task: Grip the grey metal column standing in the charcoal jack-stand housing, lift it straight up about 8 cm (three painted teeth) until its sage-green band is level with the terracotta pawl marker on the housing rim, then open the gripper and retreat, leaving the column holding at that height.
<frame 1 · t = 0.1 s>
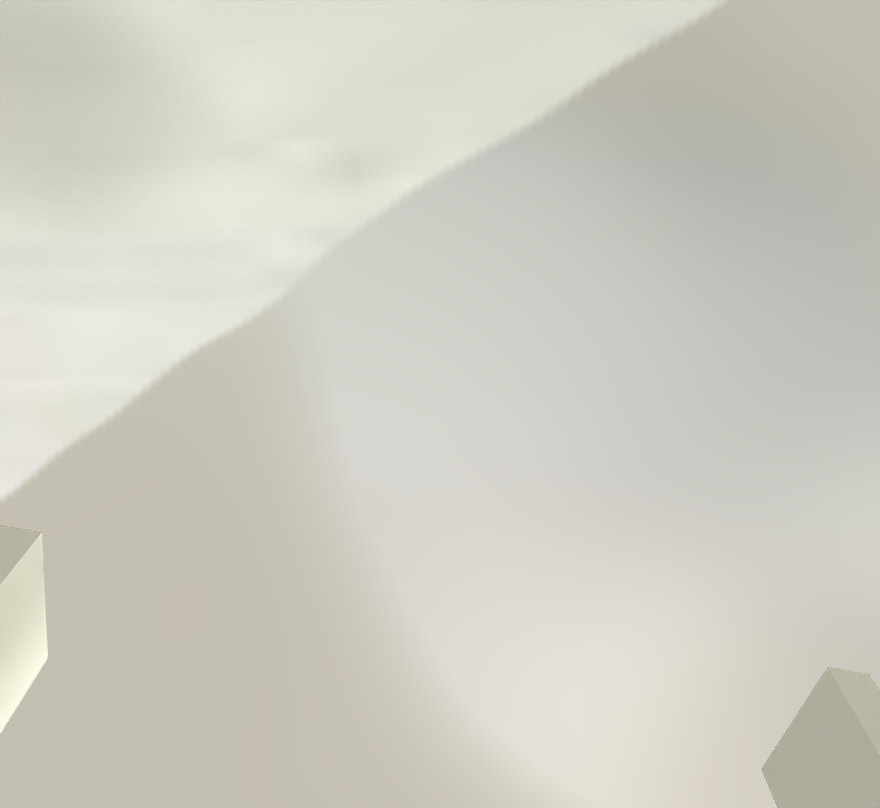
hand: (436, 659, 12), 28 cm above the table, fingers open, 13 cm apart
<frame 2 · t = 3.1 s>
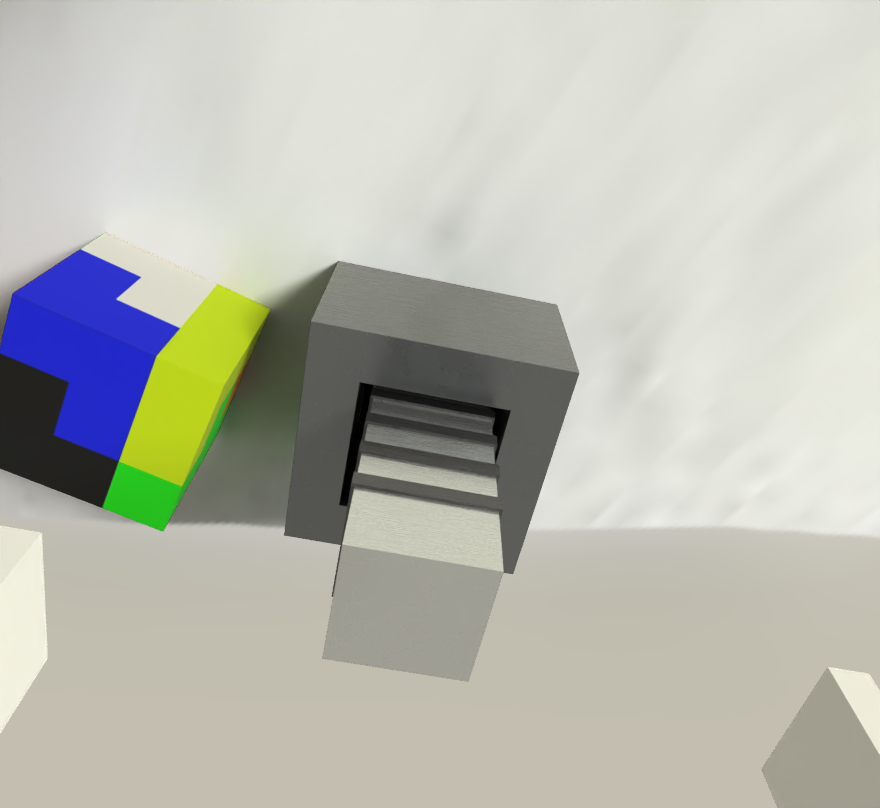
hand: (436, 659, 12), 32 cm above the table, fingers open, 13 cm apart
puzzle toy: (166, 339, 45), on the table
housing: (427, 380, 46), on the table
column: (420, 470, 37), point 10 cm above the table, slide at 0.0 cm
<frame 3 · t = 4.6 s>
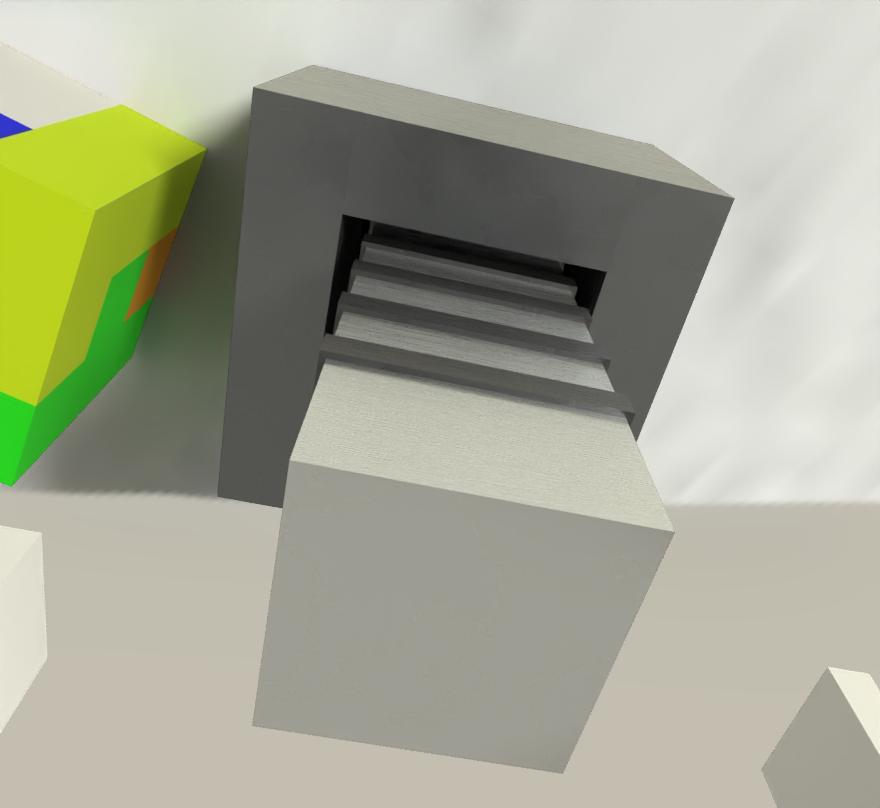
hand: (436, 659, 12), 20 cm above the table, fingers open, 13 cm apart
puzzle toy: (48, 201, 29), on the table
housing: (448, 271, 30), on the table
column: (447, 378, 21), point 10 cm above the table, slide at 0.0 cm
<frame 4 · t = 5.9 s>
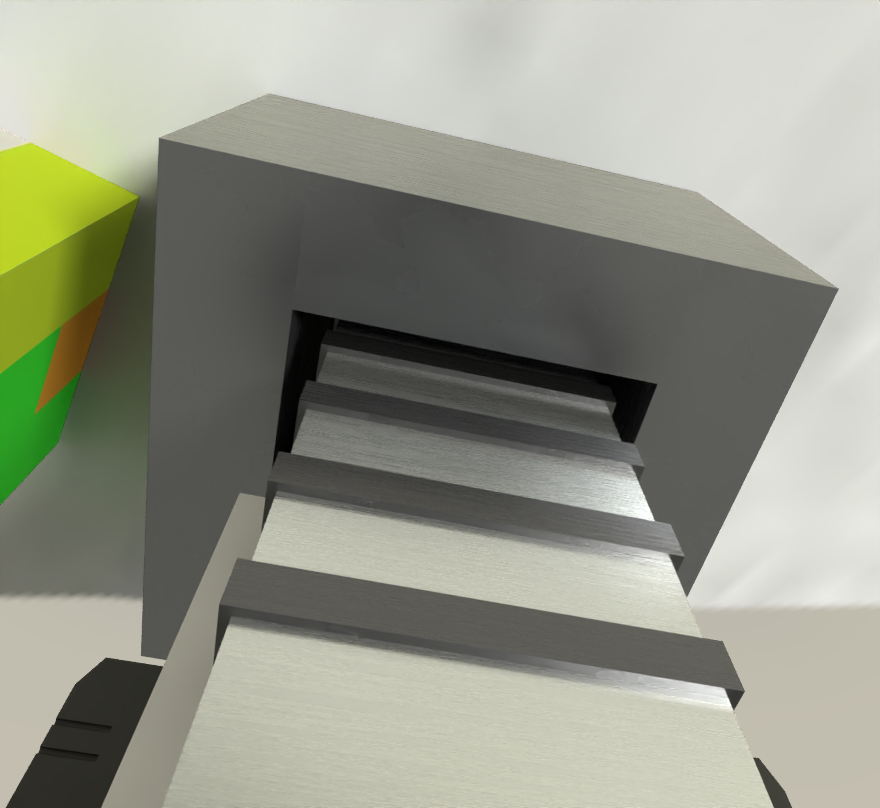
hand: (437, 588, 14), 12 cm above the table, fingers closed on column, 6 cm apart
housing: (442, 343, 24), on the table
column: (439, 525, 16), point 10 cm above the table, slide at 0.0 cm, touching gripper
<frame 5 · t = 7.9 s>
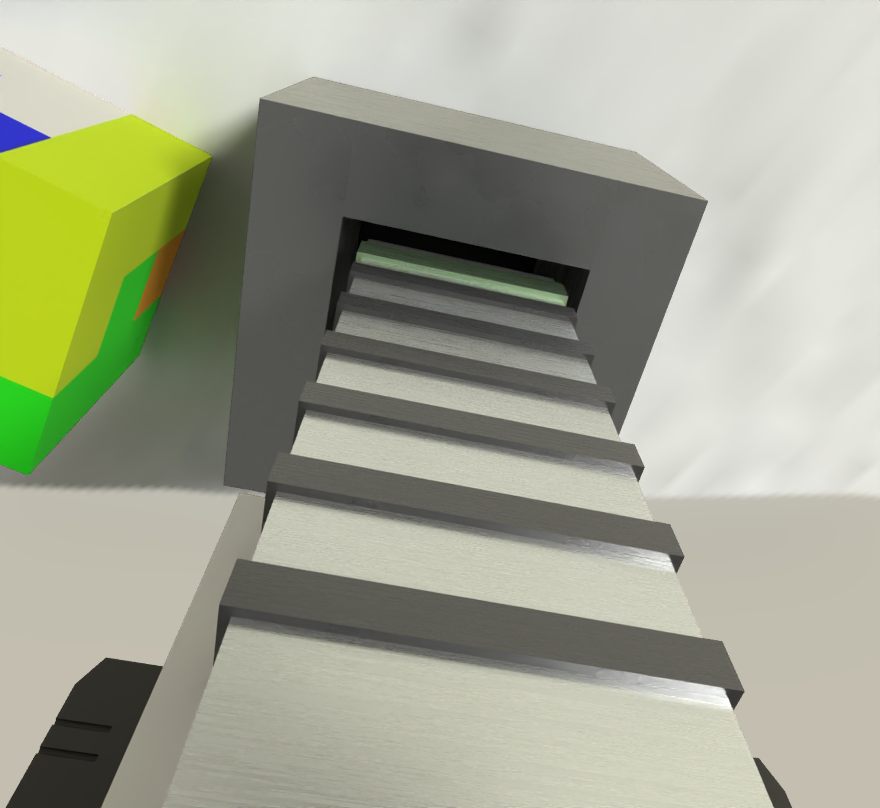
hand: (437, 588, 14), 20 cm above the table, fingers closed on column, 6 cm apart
puzzle toy: (60, 206, 31), on the table
housing: (442, 272, 31), on the table
column: (438, 526, 16), point 18 cm above the table, slide at 7.9 cm, touching gripper
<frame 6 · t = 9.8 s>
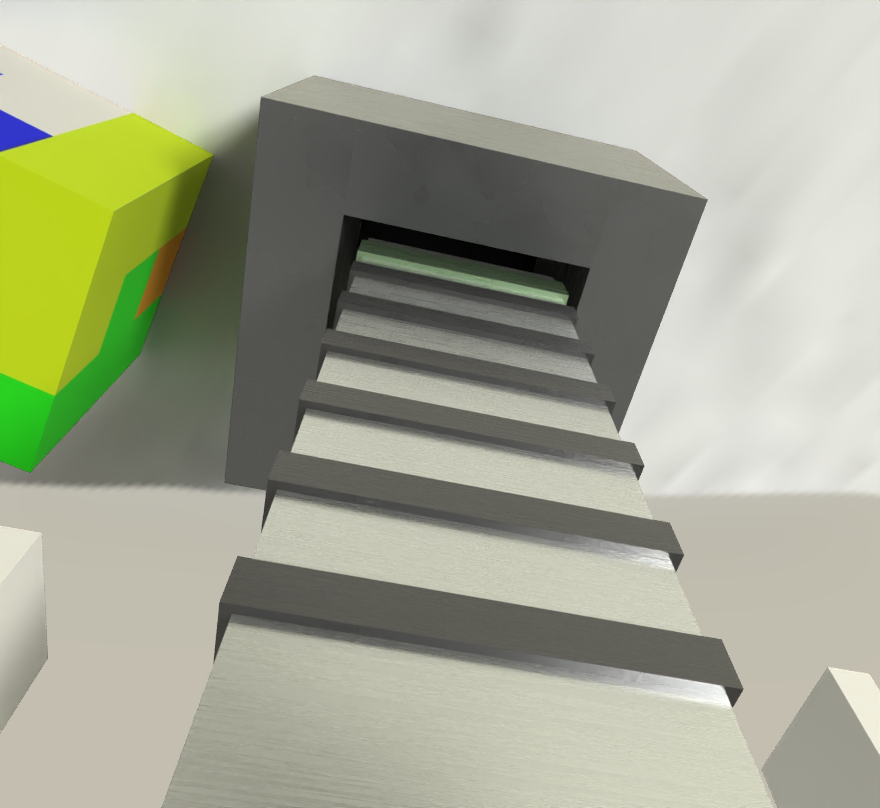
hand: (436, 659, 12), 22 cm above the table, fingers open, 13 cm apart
puzzle toy: (62, 204, 31), on the table
housing: (443, 271, 32), on the table
column: (439, 524, 16), point 18 cm above the table, slide at 8.0 cm
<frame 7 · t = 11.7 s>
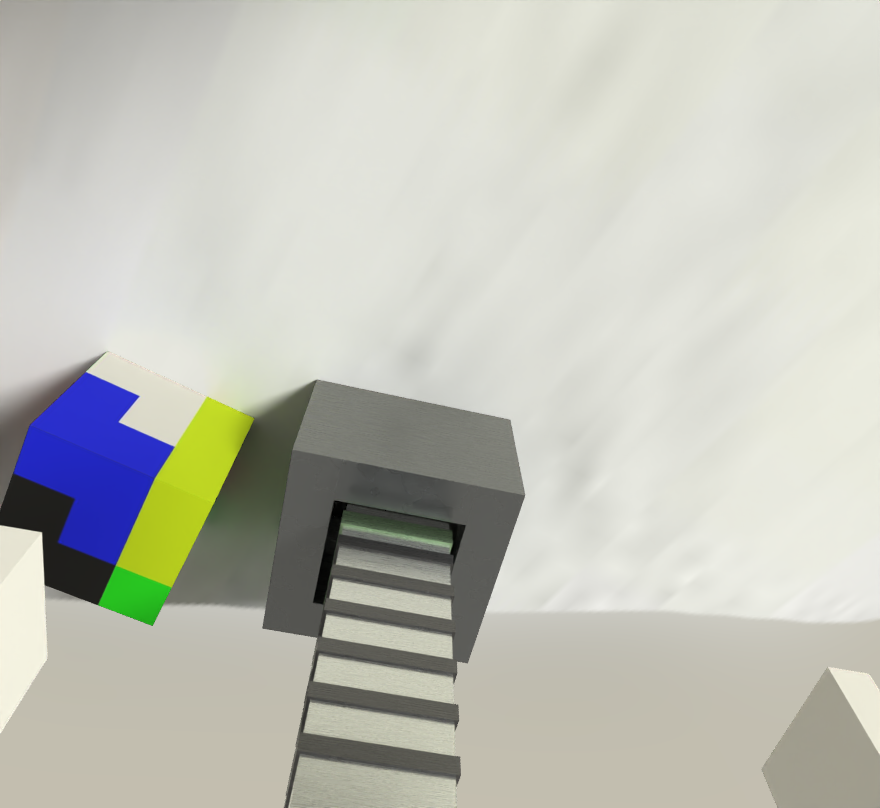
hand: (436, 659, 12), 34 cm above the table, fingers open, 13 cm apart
puzzle toy: (158, 442, 49), on the table
housing: (394, 481, 51), on the table
column: (376, 686, 35), point 18 cm above the table, slide at 8.0 cm
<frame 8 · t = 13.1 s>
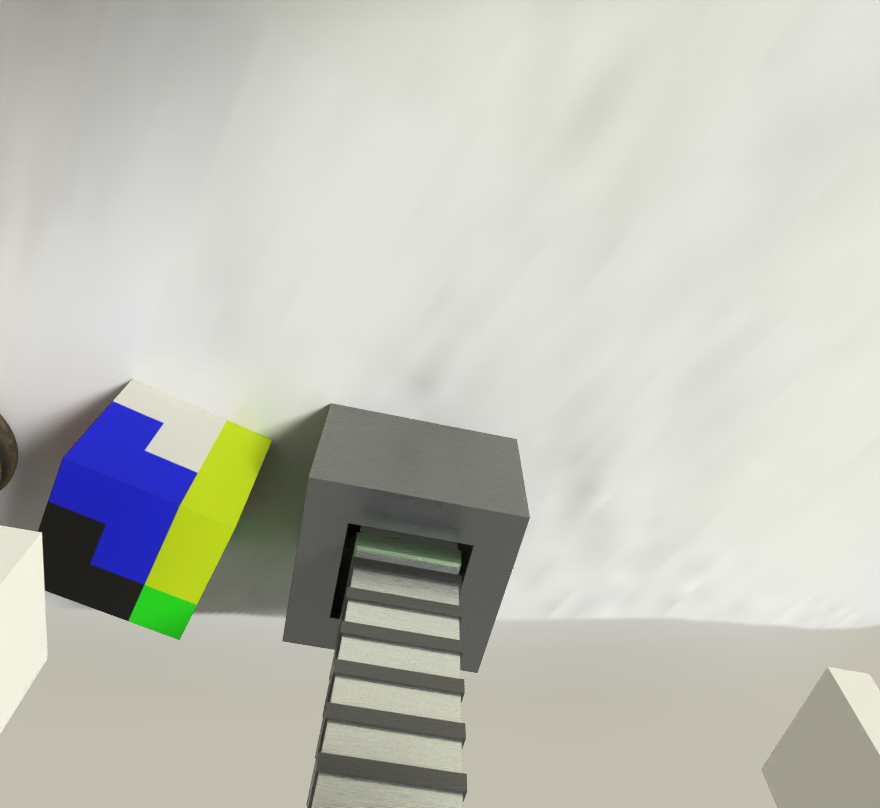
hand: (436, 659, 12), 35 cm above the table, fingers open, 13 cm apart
puzzle toy: (181, 462, 52), on the table
housing: (406, 498, 53), on the table
column: (389, 703, 37), point 18 cm above the table, slide at 8.0 cm
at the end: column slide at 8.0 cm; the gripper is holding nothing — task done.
